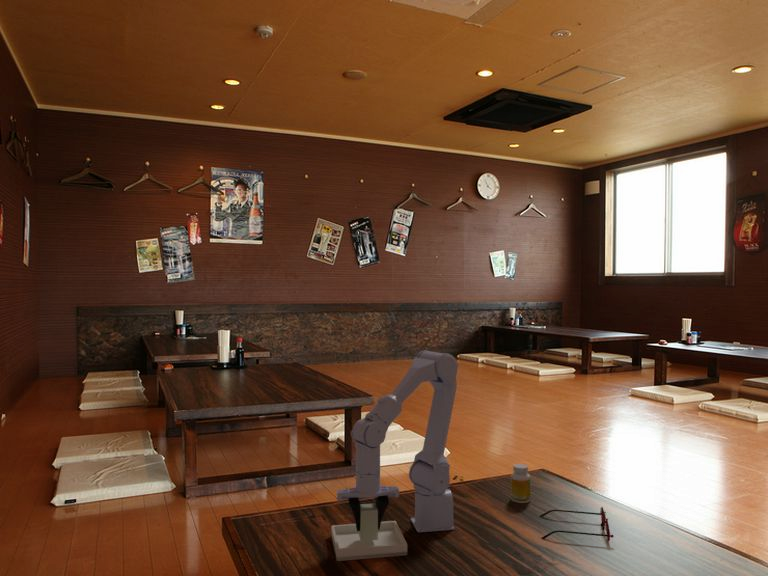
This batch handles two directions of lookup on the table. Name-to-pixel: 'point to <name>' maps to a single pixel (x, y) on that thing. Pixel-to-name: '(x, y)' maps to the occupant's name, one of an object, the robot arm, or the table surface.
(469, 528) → the table surface
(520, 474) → the supplement bottle
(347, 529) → the serving tray
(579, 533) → the glasses
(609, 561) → the table surface
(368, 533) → the sage block
